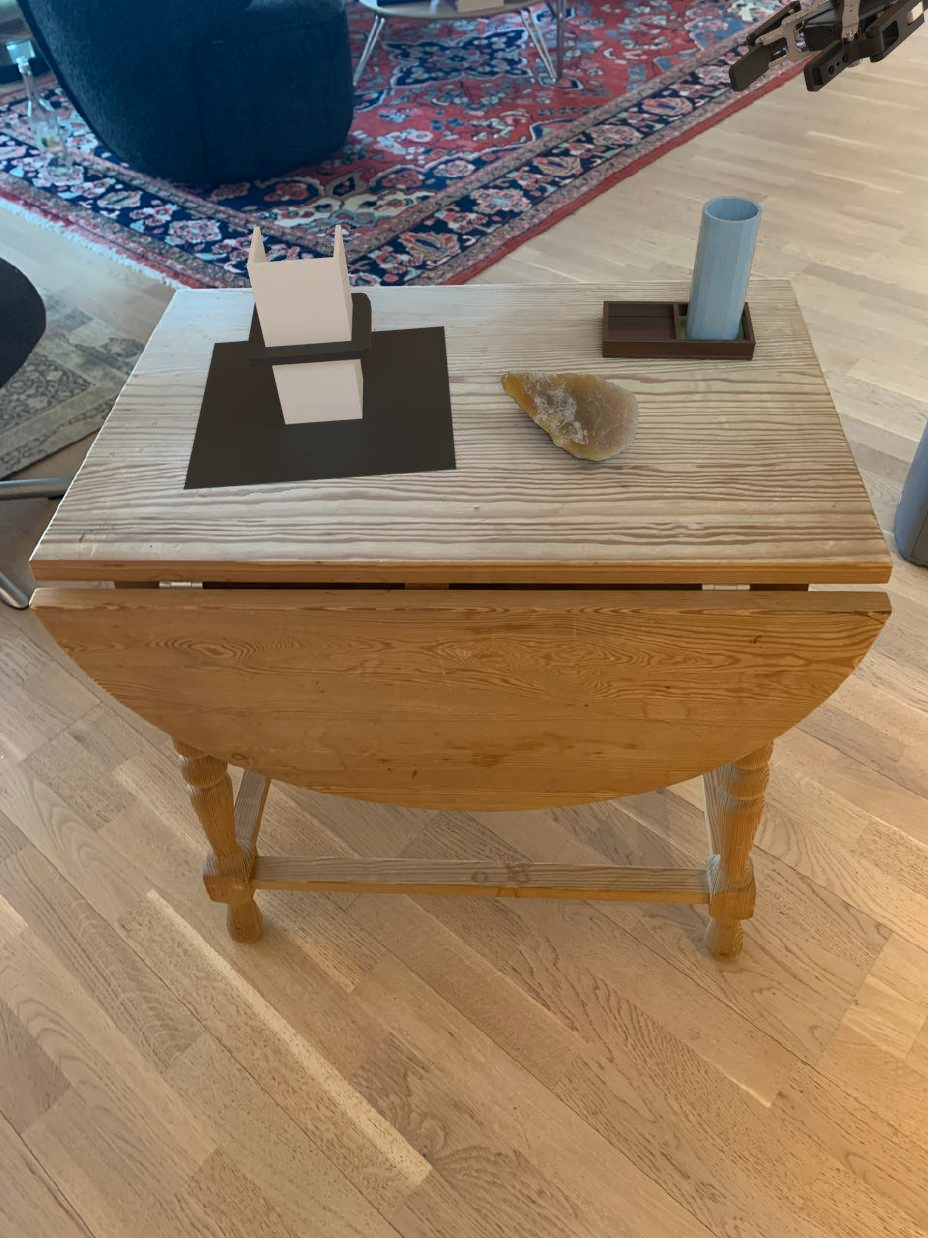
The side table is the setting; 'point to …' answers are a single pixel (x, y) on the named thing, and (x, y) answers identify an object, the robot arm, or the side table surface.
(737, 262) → the cup
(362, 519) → the side table surface
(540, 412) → the stone
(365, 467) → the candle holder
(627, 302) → the tray
